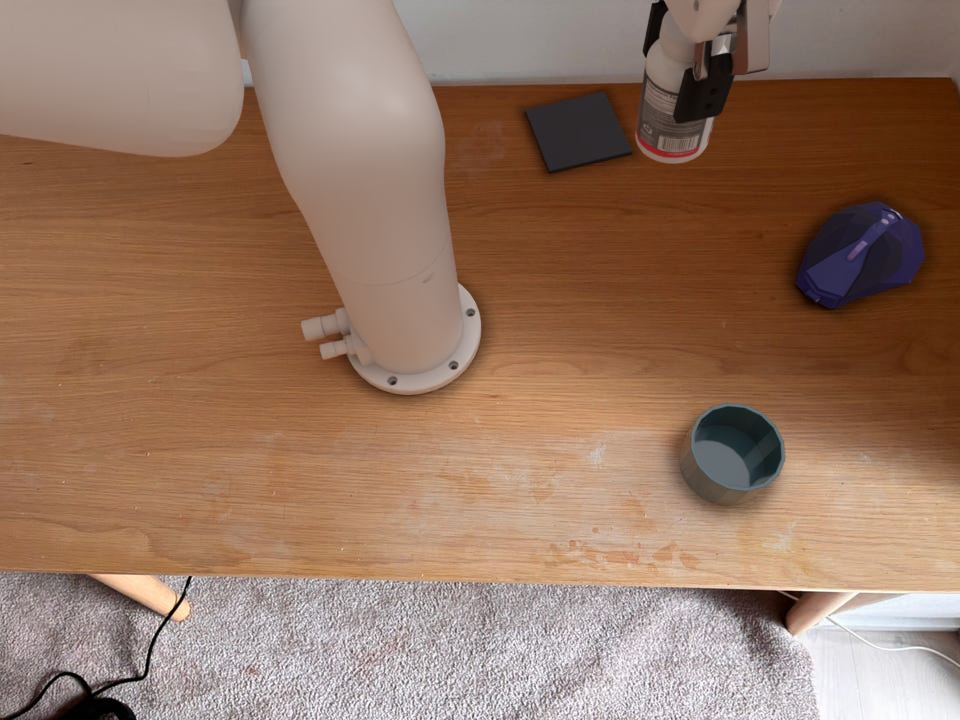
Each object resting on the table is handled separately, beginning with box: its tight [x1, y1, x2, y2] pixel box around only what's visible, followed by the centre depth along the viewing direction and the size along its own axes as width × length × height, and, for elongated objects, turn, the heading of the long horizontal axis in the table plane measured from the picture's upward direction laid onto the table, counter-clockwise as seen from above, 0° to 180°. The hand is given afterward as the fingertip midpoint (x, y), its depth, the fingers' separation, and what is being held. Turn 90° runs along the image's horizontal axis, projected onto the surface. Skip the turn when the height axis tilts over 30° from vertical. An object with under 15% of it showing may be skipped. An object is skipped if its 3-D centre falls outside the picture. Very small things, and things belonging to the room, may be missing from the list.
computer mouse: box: [795, 200, 926, 310], centre depth 63 cm, size 9×15×4 cm, turn 132°
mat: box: [524, 91, 634, 174], centre depth 73 cm, size 9×9×1 cm
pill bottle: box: [634, 10, 729, 165], centre depth 47 cm, size 5×5×10 cm
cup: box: [678, 402, 786, 507], centre depth 54 cm, size 7×7×4 cm
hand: (680, 82), depth 46 cm, fingers closed on pill bottle, 5 cm apart
